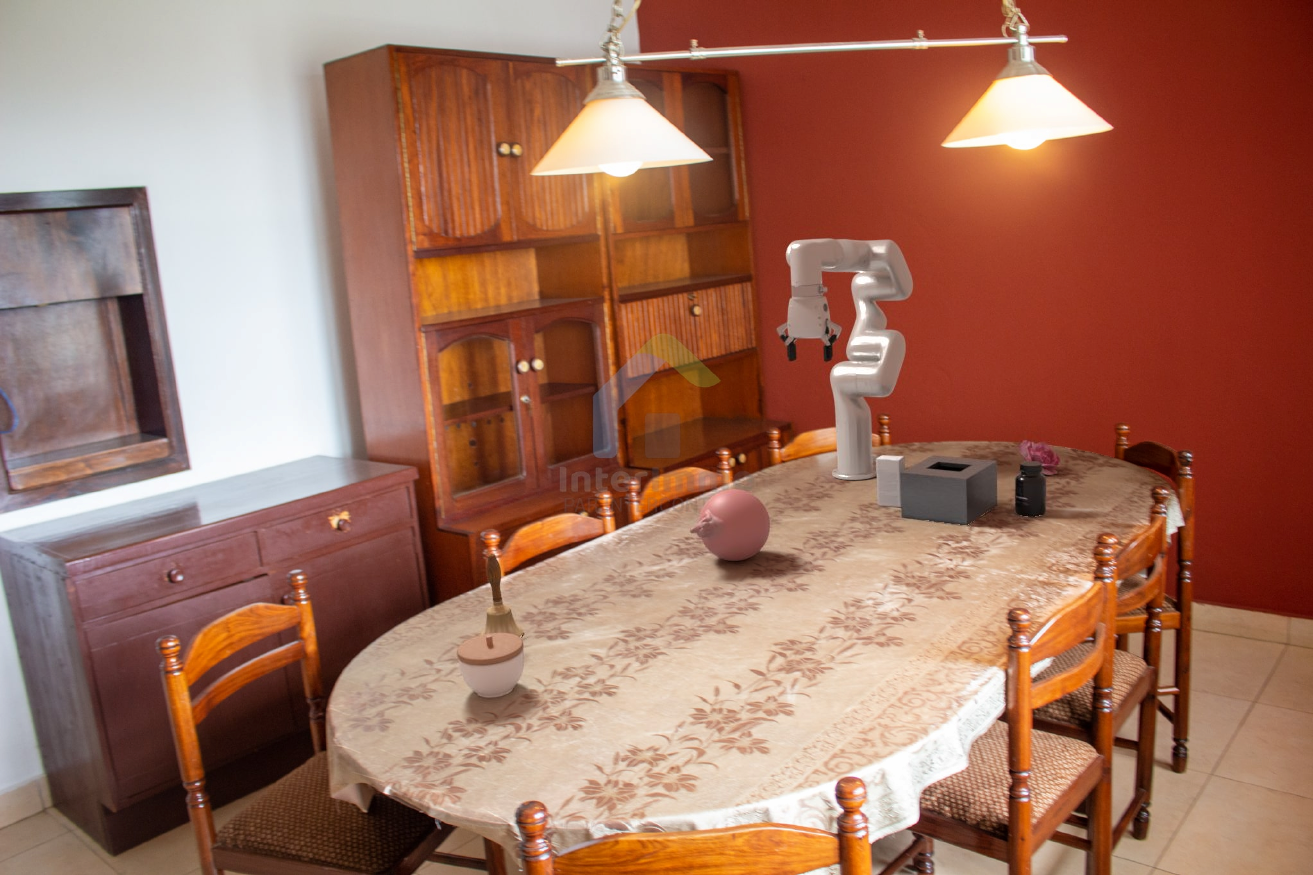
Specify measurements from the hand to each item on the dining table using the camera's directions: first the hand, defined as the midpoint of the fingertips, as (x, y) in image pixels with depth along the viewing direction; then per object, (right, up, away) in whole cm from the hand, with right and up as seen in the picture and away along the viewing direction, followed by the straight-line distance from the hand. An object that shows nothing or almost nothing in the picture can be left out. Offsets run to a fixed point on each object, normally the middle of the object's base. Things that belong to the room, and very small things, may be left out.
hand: (810, 360), depth 258 cm
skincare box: (+20, -36, -4) cm, 41 cm away
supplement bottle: (+48, -37, -20) cm, 64 cm away
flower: (+63, -29, +14) cm, 71 cm away
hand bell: (-67, -56, -67) cm, 110 cm away
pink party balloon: (-23, -46, -36) cm, 63 cm away
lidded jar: (-65, -61, -89) cm, 126 cm away
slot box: (+31, -37, -13) cm, 50 cm away
